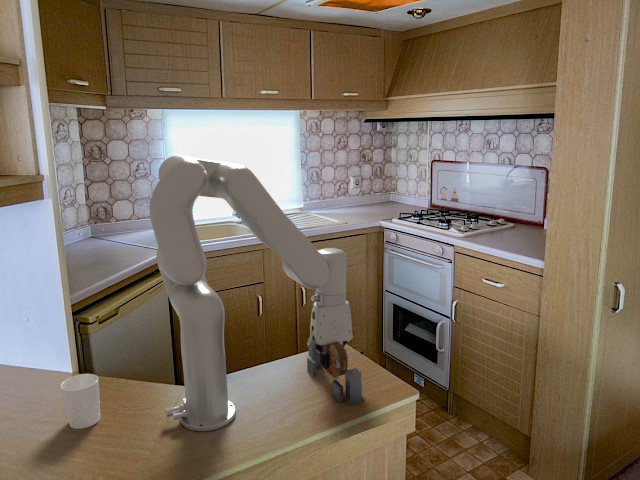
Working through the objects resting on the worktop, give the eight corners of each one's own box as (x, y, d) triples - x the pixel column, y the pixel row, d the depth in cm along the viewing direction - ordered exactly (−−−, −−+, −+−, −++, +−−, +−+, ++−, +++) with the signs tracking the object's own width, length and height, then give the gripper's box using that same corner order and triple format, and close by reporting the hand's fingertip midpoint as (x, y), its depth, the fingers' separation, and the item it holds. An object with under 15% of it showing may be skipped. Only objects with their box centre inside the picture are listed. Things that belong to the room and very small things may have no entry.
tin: (313, 359, 139) (311, 330, 137) (323, 356, 141) (322, 327, 139) (339, 383, 126) (338, 351, 124) (350, 380, 127) (349, 348, 125)
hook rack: (344, 407, 123) (344, 376, 121) (303, 367, 143) (302, 340, 142) (366, 400, 126) (366, 370, 124) (323, 362, 146) (323, 335, 144)
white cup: (103, 408, 125) (98, 371, 122) (102, 426, 117) (97, 386, 115) (67, 416, 122) (62, 377, 120) (64, 434, 115) (58, 393, 112)
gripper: (307, 307, 122) (308, 378, 126) (366, 297, 129) (364, 365, 133) (295, 297, 129) (295, 365, 133) (351, 289, 136) (350, 354, 140)
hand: (330, 364), depth 133 cm, fingers closed on tin, 2 cm apart
